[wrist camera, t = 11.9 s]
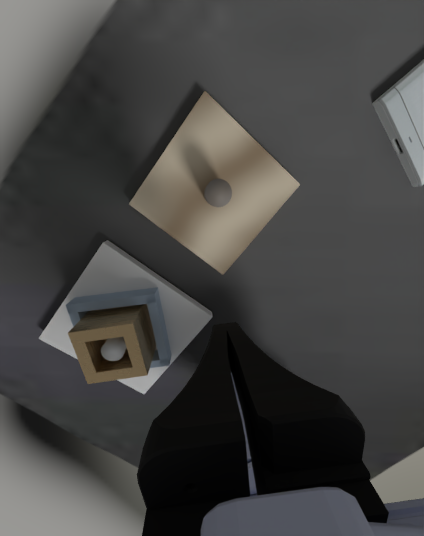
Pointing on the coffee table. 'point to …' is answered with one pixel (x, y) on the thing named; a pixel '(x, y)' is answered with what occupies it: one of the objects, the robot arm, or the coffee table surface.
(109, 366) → the tan square ring block
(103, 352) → the white peg base
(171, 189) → the stand
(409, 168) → the hard drive
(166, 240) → the coffee table surface
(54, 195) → the coffee table surface
